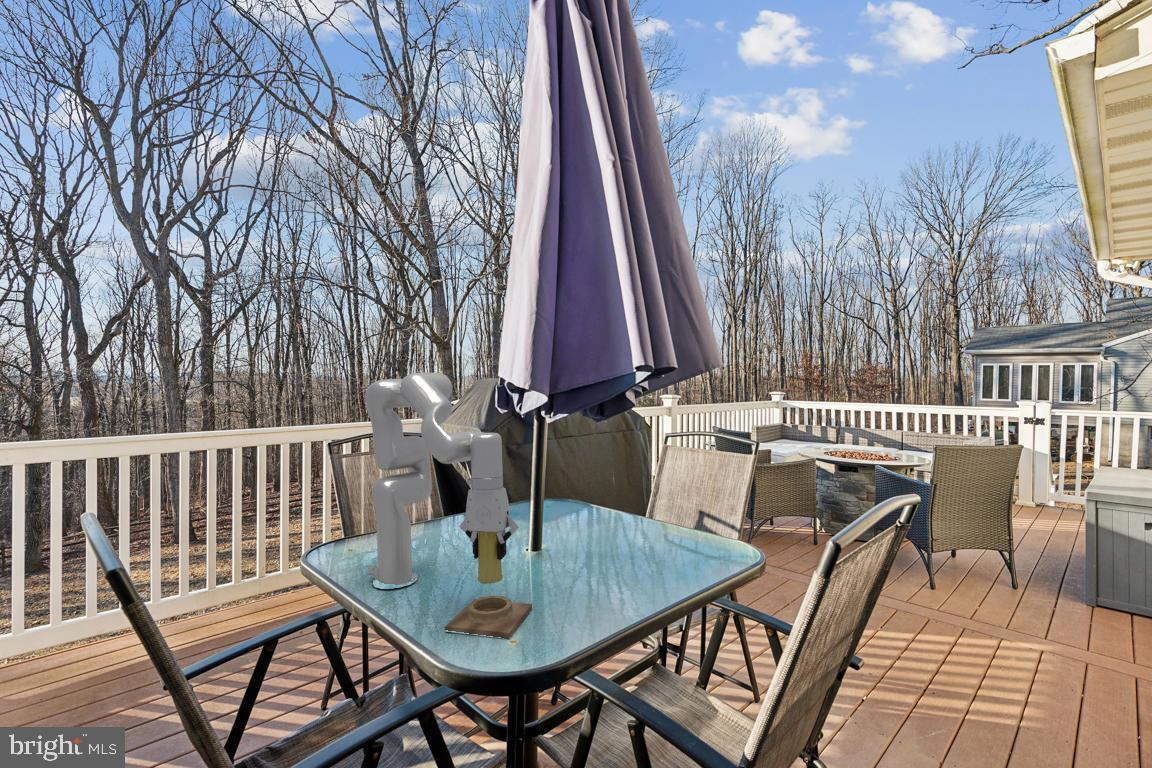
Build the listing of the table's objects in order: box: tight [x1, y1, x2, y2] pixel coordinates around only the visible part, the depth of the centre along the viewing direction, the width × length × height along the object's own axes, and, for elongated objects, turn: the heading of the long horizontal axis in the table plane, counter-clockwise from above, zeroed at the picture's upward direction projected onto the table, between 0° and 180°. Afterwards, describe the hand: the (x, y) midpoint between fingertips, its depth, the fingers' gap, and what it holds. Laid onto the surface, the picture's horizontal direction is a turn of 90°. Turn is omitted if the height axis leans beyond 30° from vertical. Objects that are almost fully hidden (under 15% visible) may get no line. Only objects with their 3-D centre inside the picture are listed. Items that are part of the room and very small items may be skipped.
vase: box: [477, 532, 504, 584], centre depth 131 cm, size 6×6×14 cm
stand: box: [444, 595, 533, 640], centre depth 131 cm, size 16×16×4 cm
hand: (489, 556), depth 131 cm, fingers closed on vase, 5 cm apart
